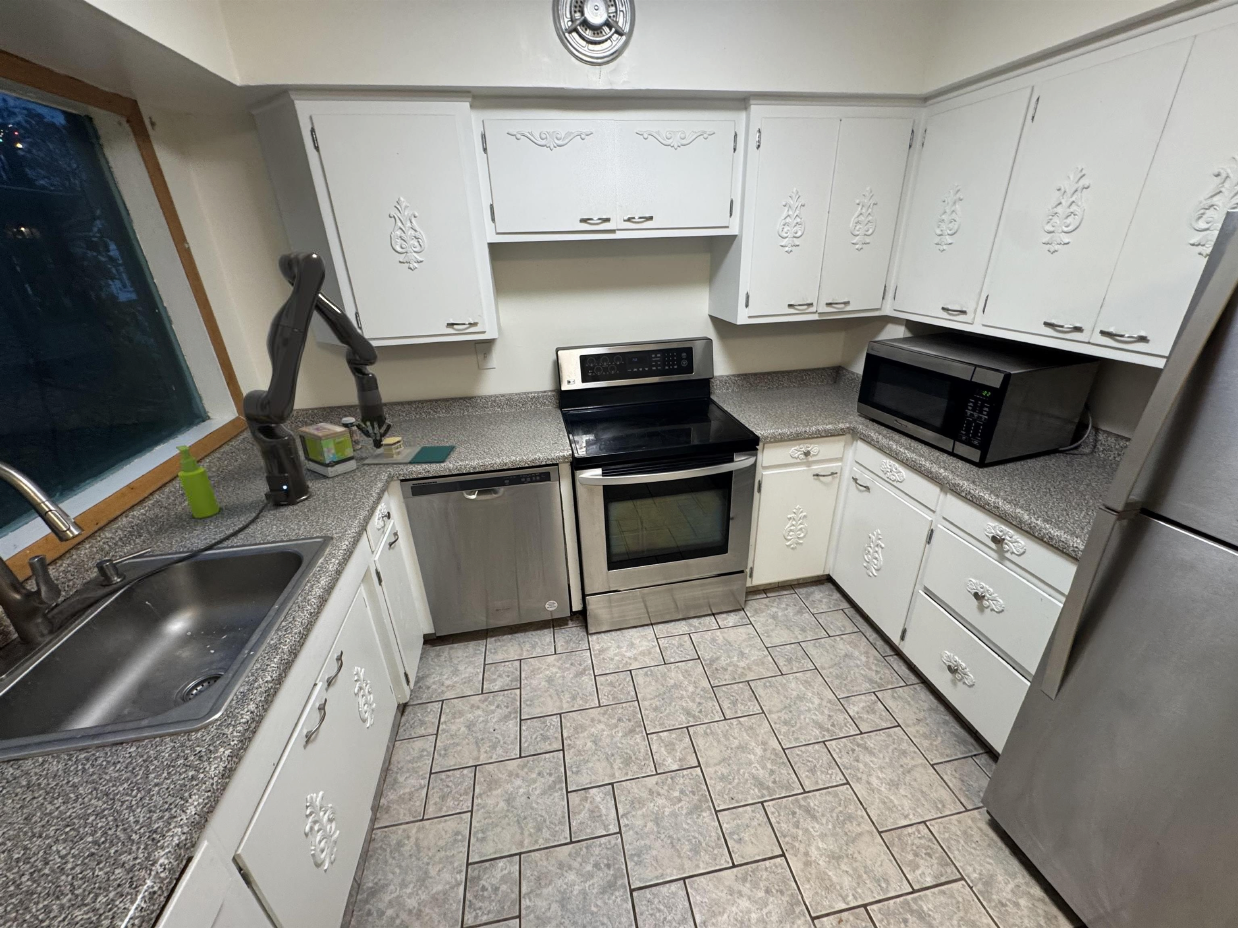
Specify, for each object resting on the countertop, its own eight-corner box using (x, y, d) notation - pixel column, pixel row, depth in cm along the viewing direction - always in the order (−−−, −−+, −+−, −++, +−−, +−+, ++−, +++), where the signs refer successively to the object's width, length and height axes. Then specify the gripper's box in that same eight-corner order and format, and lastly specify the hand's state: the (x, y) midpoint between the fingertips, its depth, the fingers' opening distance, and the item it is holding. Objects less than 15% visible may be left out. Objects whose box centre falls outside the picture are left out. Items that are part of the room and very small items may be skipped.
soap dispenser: (214, 505, 148) (192, 441, 141) (222, 512, 144) (199, 447, 137) (190, 512, 144) (165, 447, 137) (196, 520, 140) (172, 453, 133)
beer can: (355, 451, 190) (349, 420, 185) (344, 450, 191) (337, 420, 186) (364, 446, 194) (357, 417, 190) (353, 446, 195) (346, 416, 190)
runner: (443, 462, 178) (442, 461, 178) (362, 464, 177) (362, 463, 177) (454, 447, 193) (454, 445, 193) (380, 448, 192) (379, 447, 192)
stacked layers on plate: (400, 459, 180) (397, 444, 178) (375, 459, 180) (372, 444, 178) (411, 449, 189) (409, 435, 187) (388, 449, 189) (385, 435, 187)
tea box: (358, 468, 174) (349, 427, 168) (329, 478, 166) (318, 436, 161) (335, 459, 182) (325, 420, 176) (306, 468, 174) (295, 428, 168)
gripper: (346, 405, 173) (356, 452, 180) (385, 404, 174) (393, 451, 180) (355, 399, 180) (364, 444, 187) (393, 398, 181) (401, 444, 187)
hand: (379, 447), depth 184 cm, fingers closed
